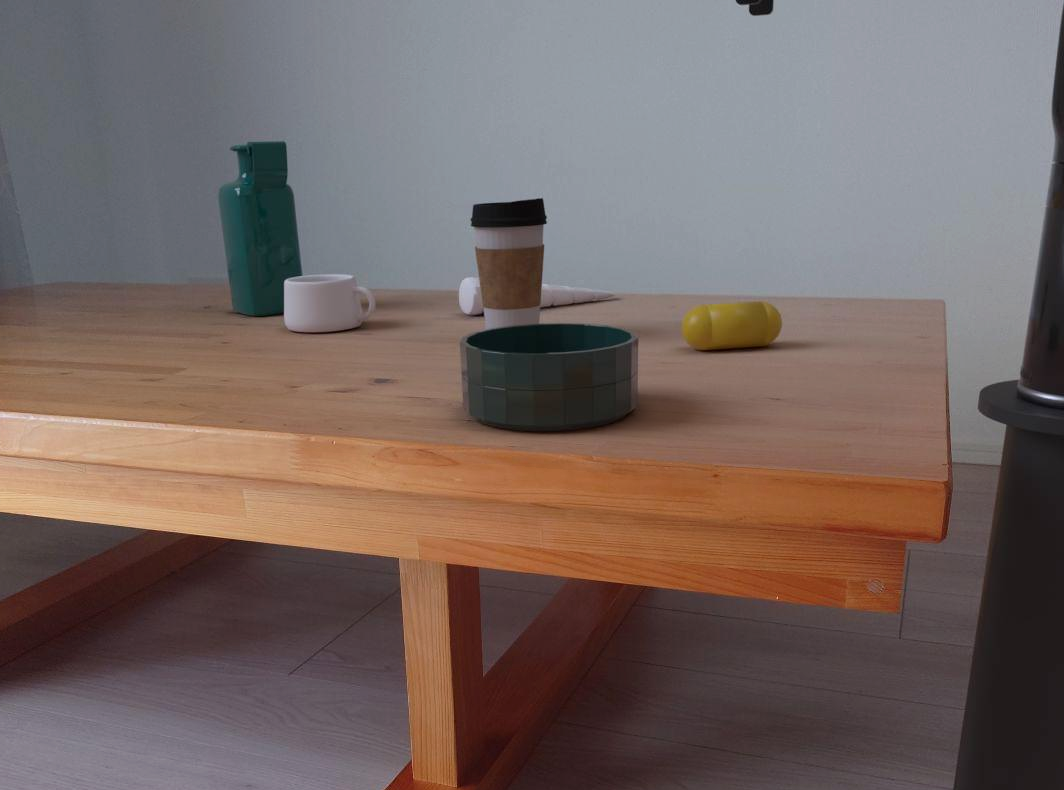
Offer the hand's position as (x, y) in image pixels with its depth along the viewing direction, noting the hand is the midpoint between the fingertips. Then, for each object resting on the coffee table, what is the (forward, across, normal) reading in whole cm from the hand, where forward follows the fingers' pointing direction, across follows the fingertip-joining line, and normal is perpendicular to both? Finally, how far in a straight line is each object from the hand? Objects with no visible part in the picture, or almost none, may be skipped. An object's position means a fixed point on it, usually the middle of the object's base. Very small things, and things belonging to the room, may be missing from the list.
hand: (754, 9), depth 92 cm
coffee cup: (+32, +3, +26) cm, 41 cm away
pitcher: (+32, +17, +67) cm, 76 cm away
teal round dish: (+31, -29, +11) cm, 44 cm away
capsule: (+31, +1, +1) cm, 31 cm away
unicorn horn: (+32, +26, +31) cm, 51 cm away
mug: (+32, +6, +51) cm, 60 cm away
